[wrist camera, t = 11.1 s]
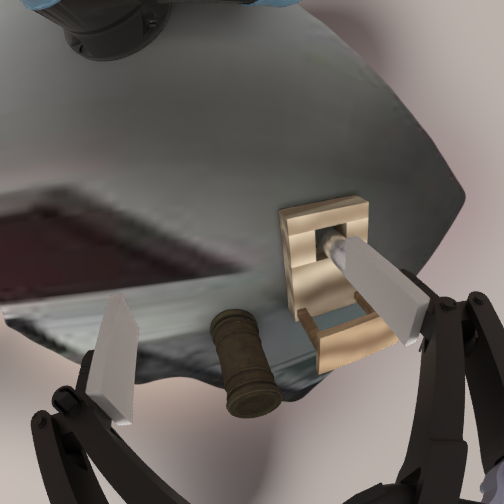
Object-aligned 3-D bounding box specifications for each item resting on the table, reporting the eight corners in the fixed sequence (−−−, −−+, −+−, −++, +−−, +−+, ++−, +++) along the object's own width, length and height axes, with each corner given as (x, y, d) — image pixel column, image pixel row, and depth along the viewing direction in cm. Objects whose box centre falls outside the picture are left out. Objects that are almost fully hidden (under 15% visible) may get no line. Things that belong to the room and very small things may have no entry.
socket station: (275, 210, 43) (320, 261, 29) (357, 194, 45) (421, 232, 31) (286, 311, 53) (318, 374, 39) (354, 290, 55) (398, 341, 41)
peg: (309, 224, 46) (345, 258, 35) (330, 219, 46) (370, 251, 36) (310, 245, 47) (344, 283, 37) (331, 240, 48) (367, 275, 38)
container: (216, 305, 49) (234, 388, 33) (263, 312, 52) (294, 387, 36) (205, 341, 52) (218, 420, 37) (248, 345, 55) (271, 419, 40)
